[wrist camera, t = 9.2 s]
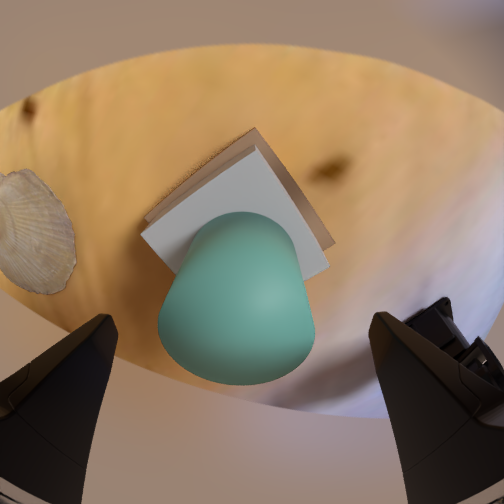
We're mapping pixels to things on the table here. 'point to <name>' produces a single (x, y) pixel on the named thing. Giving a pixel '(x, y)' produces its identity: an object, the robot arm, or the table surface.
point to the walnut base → (278, 169)
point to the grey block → (233, 200)
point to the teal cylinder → (238, 303)
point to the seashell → (34, 234)
